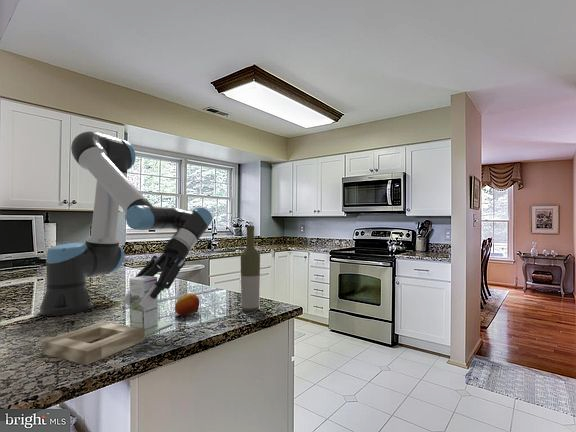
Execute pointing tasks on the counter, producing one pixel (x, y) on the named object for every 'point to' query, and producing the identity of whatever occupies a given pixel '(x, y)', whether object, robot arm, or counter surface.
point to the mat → (156, 327)
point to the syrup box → (137, 293)
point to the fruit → (187, 305)
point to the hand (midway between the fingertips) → (133, 304)
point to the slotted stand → (86, 353)
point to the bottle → (250, 274)
